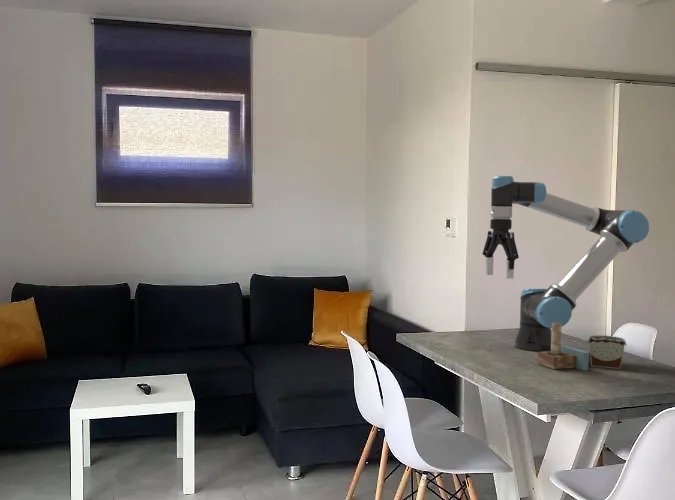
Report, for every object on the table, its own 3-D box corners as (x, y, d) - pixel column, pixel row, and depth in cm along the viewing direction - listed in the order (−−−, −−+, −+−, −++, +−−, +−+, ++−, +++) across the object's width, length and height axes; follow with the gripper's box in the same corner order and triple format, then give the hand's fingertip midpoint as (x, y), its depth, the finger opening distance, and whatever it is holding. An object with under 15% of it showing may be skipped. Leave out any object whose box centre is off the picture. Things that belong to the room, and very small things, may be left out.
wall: (558, 360, 244) (558, 343, 244) (588, 370, 229) (588, 352, 229) (553, 360, 243) (553, 343, 243) (583, 370, 228) (583, 352, 228)
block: (559, 361, 240) (559, 350, 240) (576, 367, 232) (576, 355, 231) (537, 363, 237) (537, 351, 237) (553, 369, 229) (554, 357, 228)
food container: (624, 365, 238) (625, 336, 237) (625, 369, 232) (626, 339, 231) (586, 362, 242) (587, 334, 241) (586, 365, 236) (587, 337, 235)
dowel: (556, 362, 236) (557, 322, 235) (562, 364, 233) (563, 323, 232) (548, 363, 235) (549, 322, 234) (554, 365, 232) (555, 324, 231)
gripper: (474, 217, 260) (472, 273, 261) (511, 218, 236) (509, 280, 237) (491, 218, 262) (489, 273, 263) (530, 219, 239) (527, 279, 240)
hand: (499, 276), depth 250 cm, fingers open, 13 cm apart
